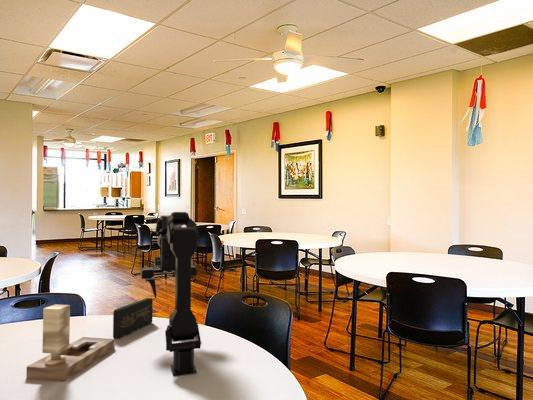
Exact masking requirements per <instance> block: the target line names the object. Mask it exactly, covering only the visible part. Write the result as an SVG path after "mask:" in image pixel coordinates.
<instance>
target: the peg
mask: <svg viewBox="0 0 533 400" xmlns="http://www.w3.org/2000/svg"><path fill="white" fill-rule="evenodd" d="M42 309H43V310H42V311H43V312H42V313H43V314H42V350H41V351H42V352H41V353H42V354H51V357H48V358H47V359H46V360H45V364H46V365H47V366H56V365H60V364H63V363H65V362H66V356H64V355H61V352H63V351H65V350H66V349H68V348H69V344H70V324H71V323H70V321H71V304H59V303H57V304H56V303H55V304H52V305H49V306H45V307H44V308H42Z"/></svg>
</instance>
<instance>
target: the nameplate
mask: <svg viewBox="0 0 533 400" xmlns="http://www.w3.org/2000/svg"><path fill="white" fill-rule="evenodd" d="M153 301H154V299H153V298H152V297H146V298H142V299H140V300H137V301H135V302H132V303H130V304H127V305H124V306H121V307H118V308H115V309H113V312H112V313H113V314H112V315H113V316H112V319H113V320H112V322H113V323H112V337H113V338H112V339H115V340H120V339H123V338H124V337H126V336H128V335H131V334H133V333H134V332H136V331H138V330H141V329H143V328H145V327H147V326H149V325H151V324H152V323H153V314H154V313H153V305H154V304H153Z"/></svg>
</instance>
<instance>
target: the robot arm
mask: <svg viewBox="0 0 533 400" xmlns="http://www.w3.org/2000/svg"><path fill="white" fill-rule="evenodd" d="M155 233H156V235H158V237H157V239H156V241H157V244H158V246H159V247H160V256H154V263H153V265H154V267H159V269H154V268H153V267H142V268H140V278H141V279H142V280H145V282H148V283H149V285H150V287H151V290H152V293H153V297H154V298H155V299H157V287H156V286H157V285H156V279H155V276H167V275H169V276H170V275H175V279H174V280H175V281H174V283H175V284H174V285H175V288H174V289H175V291H174V293H175V294H174V295H175V296H174V297H175V300H174V303H175V304H174V309H173V311H172V312H171V313H170V314H169V319H168V320H169V321H168V325H167V327H166V330H164V332H165V350H166V351H167V352H169V353H173V354H172V355H173V357H172V362H173V363H172V364H170V370H171V374H172V376H180V375H187V374H189V375H190V374H195V373H198V369H197V367H196V365H195V349H201V345H202V340H201V334H200V329H199V323H198V322H197V318H196V316H195V314H194V313H193V310H192V279H194V278H195V276H198V274H199V273H198V268H197V266H195V265H194V264H193V265H192V258H193V256H194V255H195V253H196V251H197V249H198V244H199V242H200V233H199V228H198V225H197V223H196V222H195V221H194V220H193V219H191V217H190V214H189V213H188V212H186V211H173V212H171V214H170V215H160V217H159V218H158V219H157V221H156V224H155Z"/></svg>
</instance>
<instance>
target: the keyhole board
mask: <svg viewBox="0 0 533 400" xmlns="http://www.w3.org/2000/svg"><path fill="white" fill-rule="evenodd" d="M115 342H116V339H115V338H105V337H90V336H89V337H88V336H87V337H86V336H83V337H81V338H78V339H77V340H75V341H72V342H70V343H69V348H68V349H66V350H65V351H63V352H61V355H64V356H66V362H65V363H63V364H60V365H56V366H47V365H46V364H45V360H46V359H47V358H48V357H51V353H49V354H48V355H47V356H44V357H43V358H40V359H39V360H36V361H35V362H33V363H31V364H28V365H27V366H26V376H25V378H26V379H28V380H41V381H42V380H43V381H53V382H63V383H64V382H67V381H69V380H70V379H71V378H72V377H74V376H75V375H77V374H78V373H80V372H81V371H83V370H84V369H86V368H88V367H90V366H91V365H92V364H94V363H95V362H97V361H98V360H100V359H101V358H103V357H105V356H107V355H108V354H109V353H111V352H112V351H113V350H115V347H116V346H115V345H116V343H115Z"/></svg>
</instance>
